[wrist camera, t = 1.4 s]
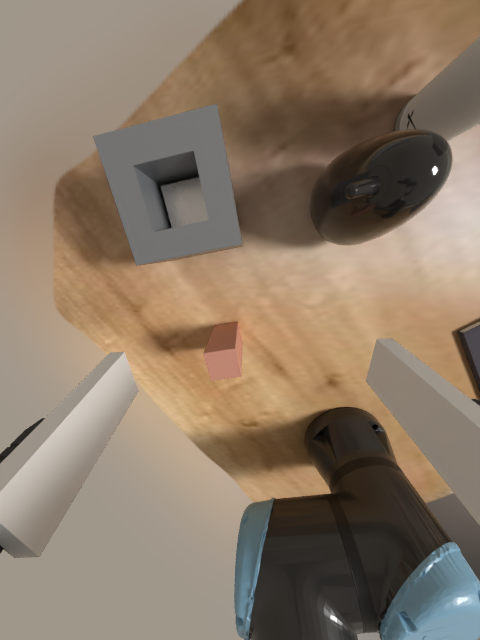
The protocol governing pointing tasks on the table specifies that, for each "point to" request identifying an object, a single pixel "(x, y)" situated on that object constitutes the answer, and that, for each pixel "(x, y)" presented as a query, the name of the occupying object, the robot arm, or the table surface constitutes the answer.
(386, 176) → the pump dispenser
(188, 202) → the recessed square insert
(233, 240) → the socket block
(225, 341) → the peg
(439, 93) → the travel mug
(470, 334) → the notebook
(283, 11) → the table surface
